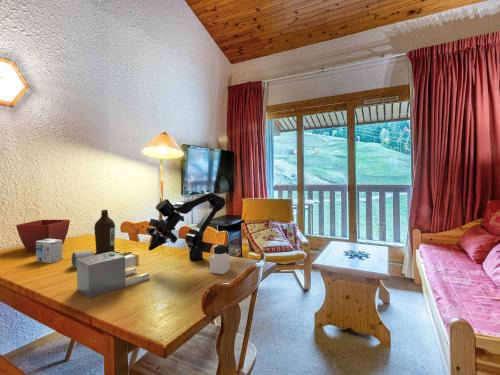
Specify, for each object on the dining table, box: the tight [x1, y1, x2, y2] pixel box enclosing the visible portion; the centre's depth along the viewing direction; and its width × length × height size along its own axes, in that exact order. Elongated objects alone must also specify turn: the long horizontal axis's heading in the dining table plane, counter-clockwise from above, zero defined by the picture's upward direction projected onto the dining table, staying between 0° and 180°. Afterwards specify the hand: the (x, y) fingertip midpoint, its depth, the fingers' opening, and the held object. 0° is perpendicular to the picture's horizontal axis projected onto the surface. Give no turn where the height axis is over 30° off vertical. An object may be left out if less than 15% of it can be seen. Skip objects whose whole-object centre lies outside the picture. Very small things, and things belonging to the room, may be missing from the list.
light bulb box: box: [35, 239, 64, 264], centre depth 136 cm, size 11×7×11 cm, turn 73°
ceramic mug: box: [71, 250, 95, 269], centre depth 128 cm, size 11×8×8 cm
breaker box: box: [76, 251, 150, 299], centre depth 104 cm, size 23×12×13 cm, turn 141°
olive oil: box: [93, 209, 116, 255], centre depth 150 cm, size 11×11×25 cm
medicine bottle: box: [209, 243, 231, 275], centre depth 119 cm, size 7×7×12 cm
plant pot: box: [15, 219, 71, 253], centre depth 158 cm, size 19×19×17 cm
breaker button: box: [123, 252, 140, 269], centre depth 107 cm, size 12×5×5 cm, turn 141°
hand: (149, 250), depth 116 cm, fingers closed
